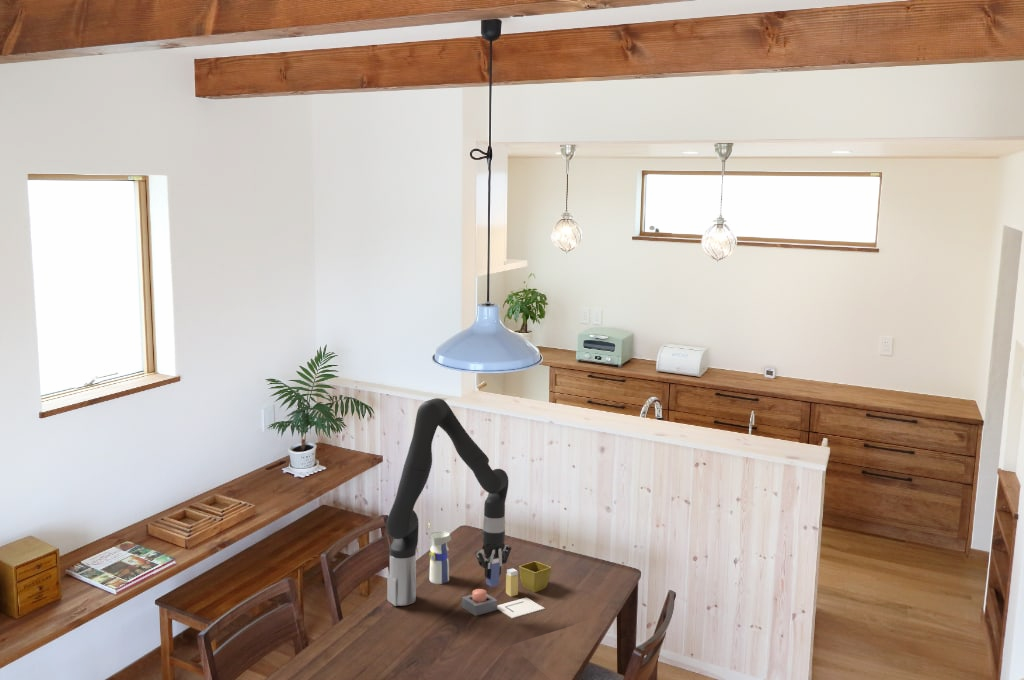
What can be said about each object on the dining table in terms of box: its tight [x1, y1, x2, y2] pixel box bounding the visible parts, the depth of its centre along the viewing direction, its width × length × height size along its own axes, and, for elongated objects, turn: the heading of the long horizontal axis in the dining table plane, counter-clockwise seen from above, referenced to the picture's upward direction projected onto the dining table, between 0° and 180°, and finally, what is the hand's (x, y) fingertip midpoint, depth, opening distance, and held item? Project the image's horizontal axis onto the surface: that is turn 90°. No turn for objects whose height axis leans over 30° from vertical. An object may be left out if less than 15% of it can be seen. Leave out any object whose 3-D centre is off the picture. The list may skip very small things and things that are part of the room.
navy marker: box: [485, 557, 500, 588], centre depth 288 cm, size 3×3×10 cm
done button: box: [471, 588, 488, 603], centre depth 296 cm, size 5×5×4 cm
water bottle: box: [427, 519, 452, 585], centre depth 316 cm, size 8×9×25 cm
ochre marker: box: [505, 567, 519, 598], centre depth 308 cm, size 3×3×10 cm
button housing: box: [461, 593, 498, 617], centre depth 296 cm, size 9×9×4 cm
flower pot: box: [518, 560, 552, 593], centre depth 313 cm, size 9×9×9 cm
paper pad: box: [497, 597, 546, 619], centre depth 297 cm, size 14×11×1 cm
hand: (492, 576), depth 288 cm, fingers closed on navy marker, 3 cm apart
